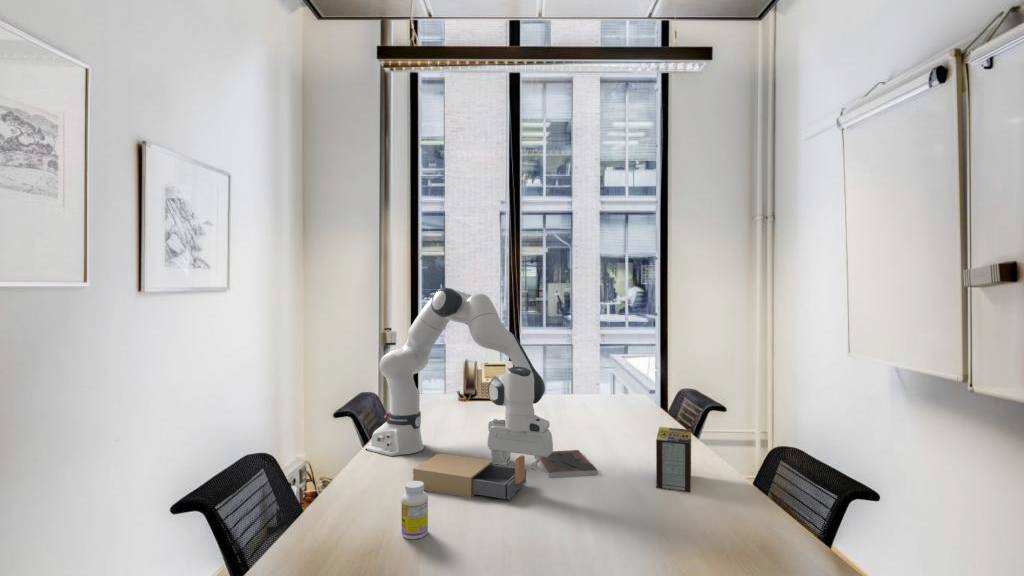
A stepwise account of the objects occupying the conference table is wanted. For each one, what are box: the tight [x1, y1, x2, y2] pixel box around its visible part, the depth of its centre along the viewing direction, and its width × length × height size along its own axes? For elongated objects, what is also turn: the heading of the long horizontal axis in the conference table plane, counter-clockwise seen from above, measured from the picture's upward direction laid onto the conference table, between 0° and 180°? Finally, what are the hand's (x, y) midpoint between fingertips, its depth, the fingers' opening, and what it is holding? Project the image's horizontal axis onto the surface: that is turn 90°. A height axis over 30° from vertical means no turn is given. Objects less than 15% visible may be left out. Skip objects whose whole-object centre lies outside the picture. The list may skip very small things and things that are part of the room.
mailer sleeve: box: [412, 453, 494, 498], centre depth 170 cm, size 20×16×6 cm
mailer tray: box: [472, 454, 527, 500], centre depth 165 cm, size 22×14×10 cm, turn 68°
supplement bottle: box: [400, 480, 429, 540], centre depth 135 cm, size 7×7×13 cm
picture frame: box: [538, 449, 598, 478], centre depth 187 cm, size 16×2×22 cm
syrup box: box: [490, 450, 511, 466], centre depth 190 cm, size 6×6×14 cm
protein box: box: [655, 426, 692, 493], centre depth 171 cm, size 10×15×16 cm
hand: (519, 467), depth 161 cm, fingers open, 8 cm apart
